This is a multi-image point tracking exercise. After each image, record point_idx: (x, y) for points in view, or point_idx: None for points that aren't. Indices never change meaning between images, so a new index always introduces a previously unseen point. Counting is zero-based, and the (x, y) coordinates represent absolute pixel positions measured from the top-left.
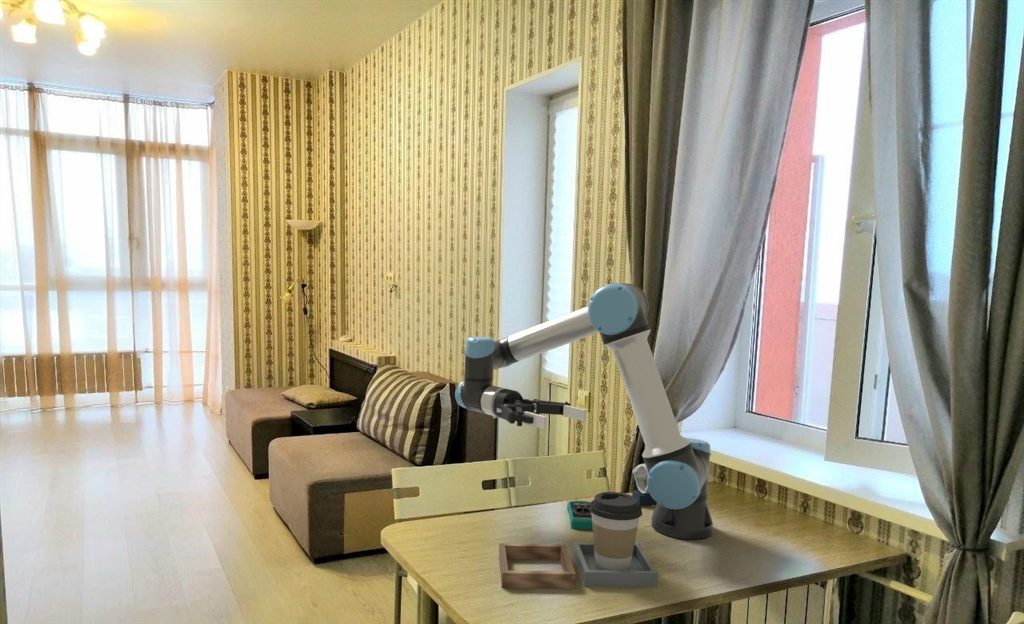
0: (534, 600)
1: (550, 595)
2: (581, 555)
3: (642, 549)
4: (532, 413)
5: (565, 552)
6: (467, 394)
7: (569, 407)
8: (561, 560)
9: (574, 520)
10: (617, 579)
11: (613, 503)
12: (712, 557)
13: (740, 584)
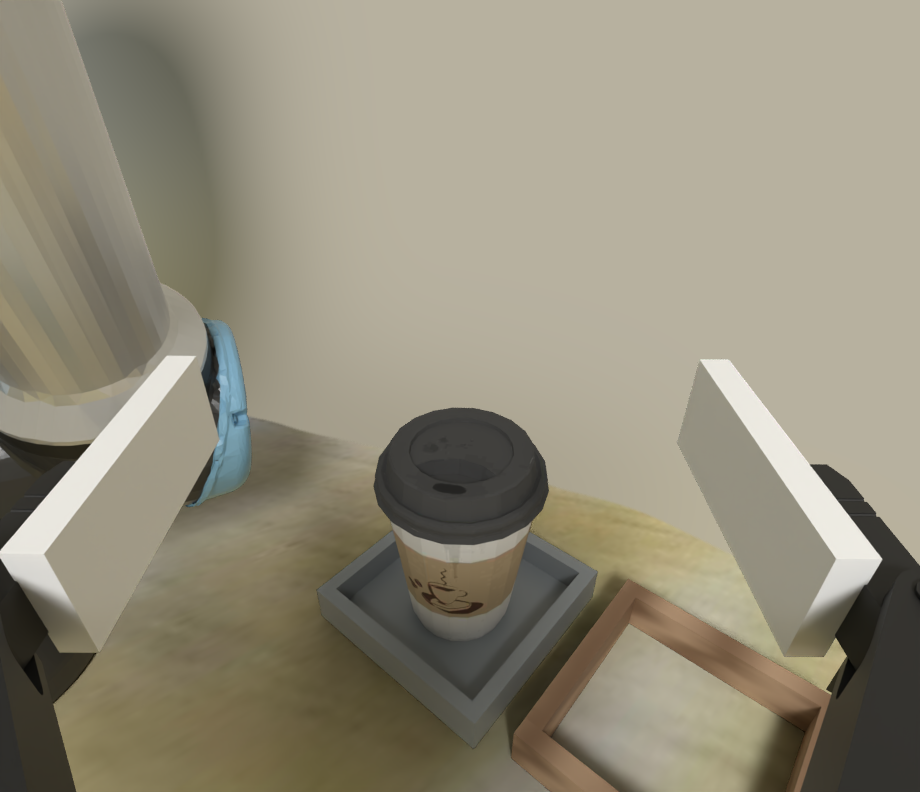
0: (757, 624)
1: (703, 617)
2: (531, 639)
3: (351, 564)
4: (789, 465)
5: (561, 684)
6: None
7: (104, 485)
8: (557, 723)
9: None
10: None
11: (506, 433)
12: (201, 512)
13: (310, 439)
